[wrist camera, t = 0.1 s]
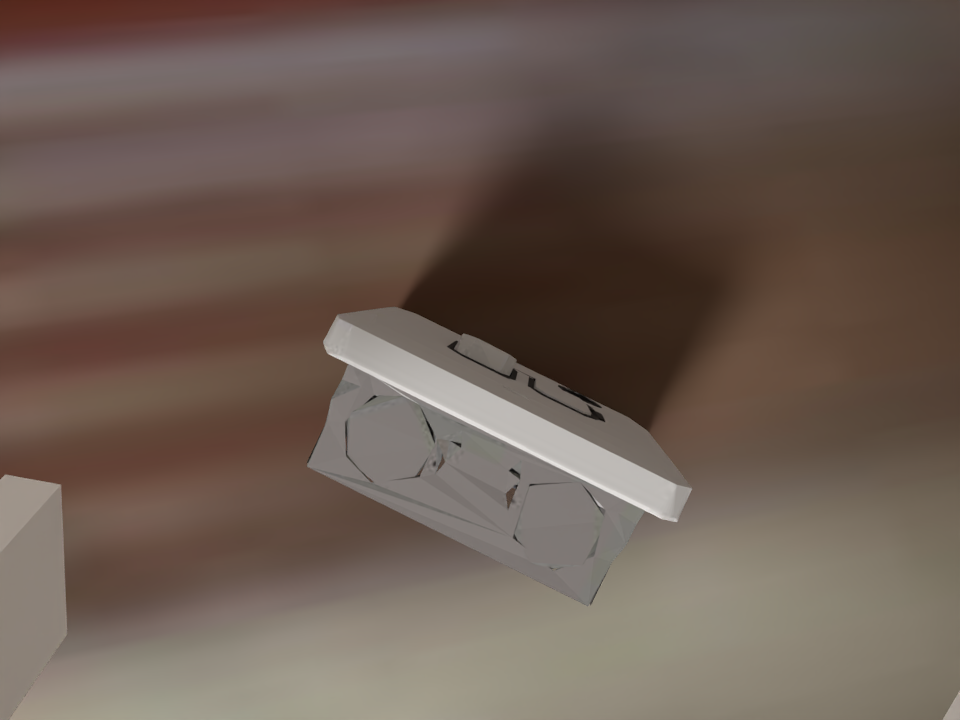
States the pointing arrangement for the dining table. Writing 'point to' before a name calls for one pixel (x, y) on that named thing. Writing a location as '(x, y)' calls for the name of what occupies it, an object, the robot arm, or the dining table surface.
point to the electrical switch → (489, 450)
